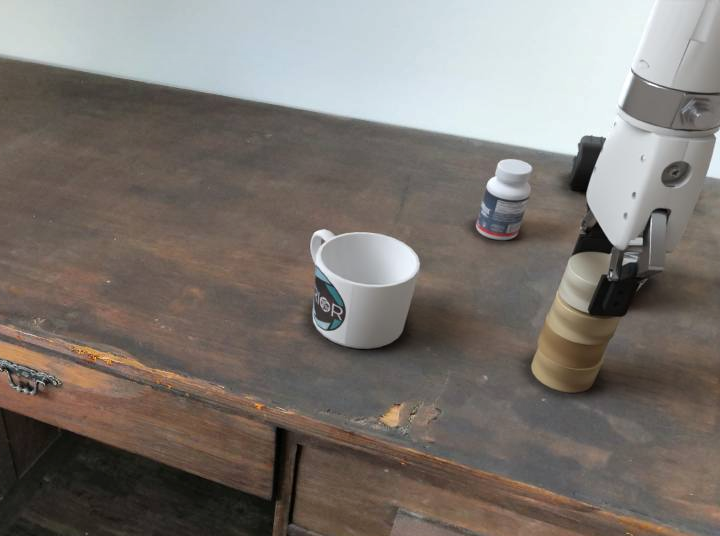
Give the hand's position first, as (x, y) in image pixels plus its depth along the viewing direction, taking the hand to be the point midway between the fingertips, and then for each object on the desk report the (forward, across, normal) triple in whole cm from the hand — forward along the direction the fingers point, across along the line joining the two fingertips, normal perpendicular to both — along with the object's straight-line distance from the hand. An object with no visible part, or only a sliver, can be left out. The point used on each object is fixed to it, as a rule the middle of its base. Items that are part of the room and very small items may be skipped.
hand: (594, 291), depth 71 cm
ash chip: (+1, 0, 0) cm, 1 cm away
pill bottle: (+10, +28, +1) cm, 30 cm away
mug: (+10, +8, +21) cm, 25 cm away
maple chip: (+4, 0, 0) cm, 4 cm away
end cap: (+10, +40, -16) cm, 44 cm away
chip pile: (+10, 0, 0) cm, 10 cm away
